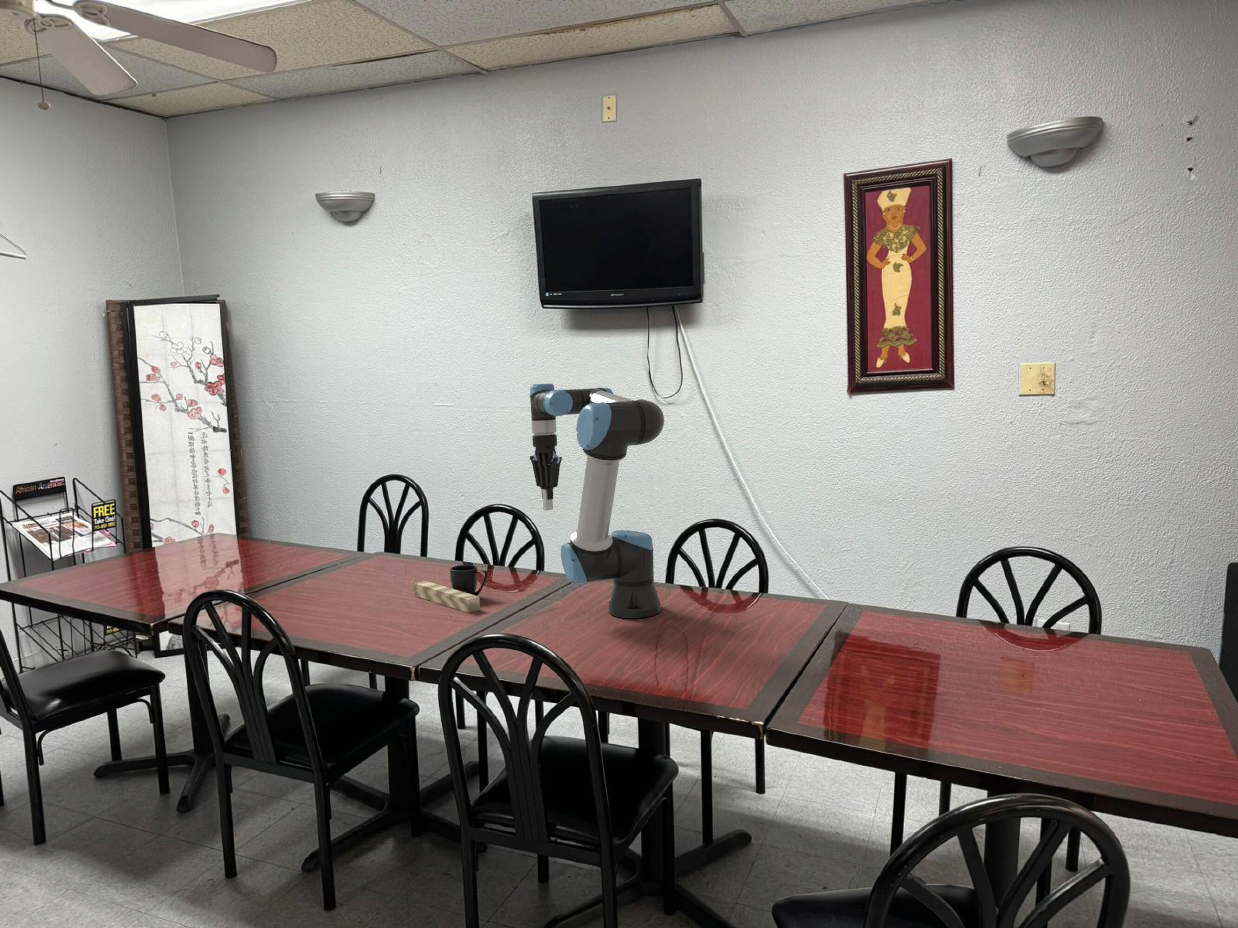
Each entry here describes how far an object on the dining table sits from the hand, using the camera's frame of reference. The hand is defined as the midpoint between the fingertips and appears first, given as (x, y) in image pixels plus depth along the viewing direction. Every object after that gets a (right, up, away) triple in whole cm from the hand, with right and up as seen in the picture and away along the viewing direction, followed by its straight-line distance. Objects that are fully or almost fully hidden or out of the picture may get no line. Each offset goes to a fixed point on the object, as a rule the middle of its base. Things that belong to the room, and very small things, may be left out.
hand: (548, 509), depth 274 cm
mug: (-24, -27, -2) cm, 36 cm away
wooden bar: (-30, -28, -6) cm, 42 cm away
